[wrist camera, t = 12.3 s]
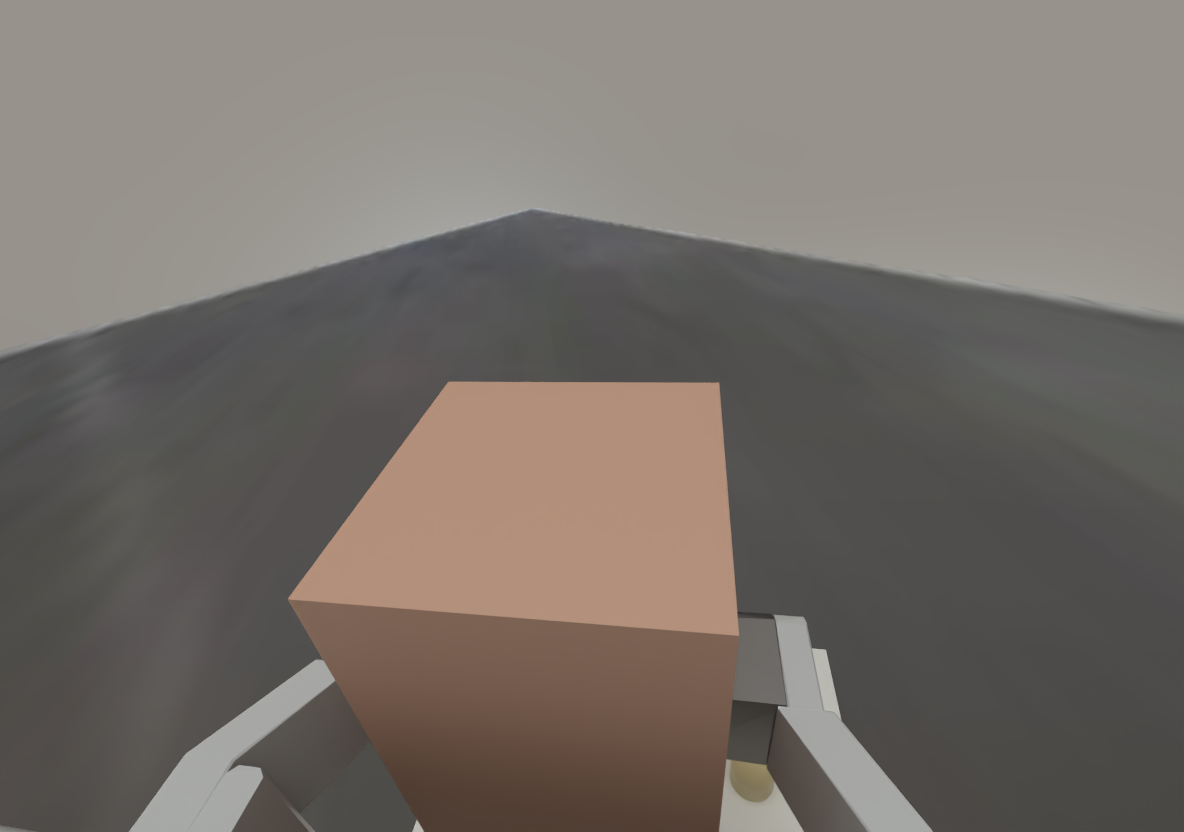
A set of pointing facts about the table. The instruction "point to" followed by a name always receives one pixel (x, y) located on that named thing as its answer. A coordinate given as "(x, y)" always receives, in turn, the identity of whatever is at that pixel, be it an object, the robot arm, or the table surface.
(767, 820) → the mounting plate
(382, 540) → the terracotta block
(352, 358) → the table surface
